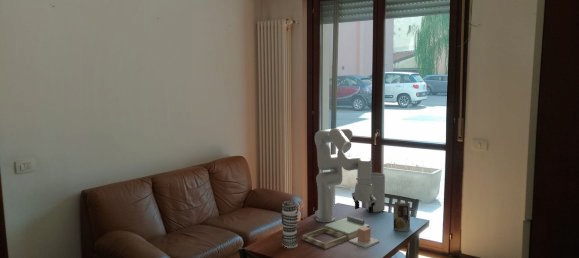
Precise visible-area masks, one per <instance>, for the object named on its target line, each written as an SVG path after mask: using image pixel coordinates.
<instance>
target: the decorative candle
mask: <svg viewBox="0 0 579 258" xmlns="http://www.w3.org/2000/svg"><path fill="white" fill-rule="evenodd" d="M281 206H282V207H281V208H282V209H281V210H282V211H281V212H280V216H281V226H282V233H281V234H282V236H281V237H282V240H281V241H282V242H281V243H282V246H283V245H284V246H285V247H287V248H286V249H292V248H294V249H295V248H296V247H298V246H299V245H298V232H297V231H298V229H297V226H298V221H297V220H298V213H299V212H298V211H297V203H296V202H295V201H293V200H285V201H284V202H282V204H281ZM285 247H284V248H285Z"/></svg>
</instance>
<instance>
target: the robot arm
mask: <svg viewBox="0 0 579 258" xmlns="http://www.w3.org/2000/svg"><path fill="white" fill-rule="evenodd" d="M352 138H353V131H352V129H351V128H350V127H348V126H342V127H334V128H330V129H327V128H326V129H321V130H318V131H317V132H315V134H314V144H315V145H316V146H315V147H316V155H317V156H316V157H317V167H318V169H319V170H320V171H321V172H319V173H318V174H317V175H316V177H315V180H316V185H317V210H315V212H314V214H315V215H316V216H315V221H317V222H320V223H332V222H335V221H336V217H335V216H334V215H333V214H334V213H333V212H334V211H333V210H334V206H333V205H334V204H333V203H334V200H333V191H332V190H331V188H330V187H334V186H339V185H342V183H343V170H345V171H347V172H349V171H355V170H357V174H356V175H357V177H356V180H357V182H355V187H354V192H351V196H352V199H353V202H354V209H355V210H358V209H360V202H361V203H365V204H366V203H368V204H369V211H368V214H373V213H374V212H373V206H374V205H375V204H376V202H377V199H376V198H375V197H374V196H373V188H372V184H371V173H372V161H371V159H369V158H366V157H364V156H363V155H357V156H356V155H355V156H347V155H345V154H347V152H348V151H350V150H351V147H352V142H351V140H352ZM329 143H330V144H331V143H332V144H334V146H335V148H336V149H337V154H336V153H335V154H331V147H330V145H329ZM328 170H329V171H328ZM331 170H332V171H331ZM322 171H323V172H322ZM370 202H371V203H370Z"/></svg>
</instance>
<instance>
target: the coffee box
mask: <svg viewBox="0 0 579 258" xmlns="http://www.w3.org/2000/svg"><path fill="white" fill-rule="evenodd" d="M392 208H393V229H392V230H393V231H399V232H406V233H409V231H410V230H411V203H410V202H400V201H395V202H394V204H393V206H392Z"/></svg>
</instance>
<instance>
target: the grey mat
mask: <svg viewBox="0 0 579 258" xmlns="http://www.w3.org/2000/svg"><path fill="white" fill-rule="evenodd" d="M348 243H350V244H354V245H356V246H360V247H362V248H364V249H367V248H370V247H372V246H374V245H377V244H379V243H380V240H378V239H376V238H374V237H370V241H368V242H366V243H364V242H361V241H358V236H357V237H354V238H352V239H349V240H348Z"/></svg>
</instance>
